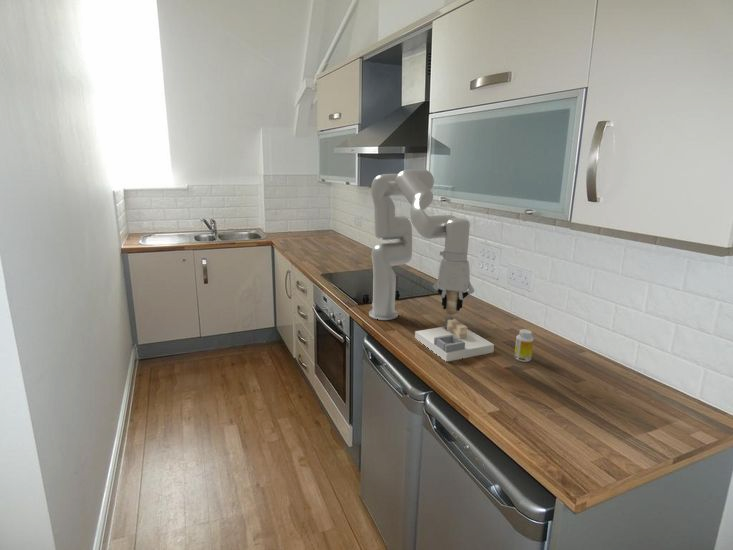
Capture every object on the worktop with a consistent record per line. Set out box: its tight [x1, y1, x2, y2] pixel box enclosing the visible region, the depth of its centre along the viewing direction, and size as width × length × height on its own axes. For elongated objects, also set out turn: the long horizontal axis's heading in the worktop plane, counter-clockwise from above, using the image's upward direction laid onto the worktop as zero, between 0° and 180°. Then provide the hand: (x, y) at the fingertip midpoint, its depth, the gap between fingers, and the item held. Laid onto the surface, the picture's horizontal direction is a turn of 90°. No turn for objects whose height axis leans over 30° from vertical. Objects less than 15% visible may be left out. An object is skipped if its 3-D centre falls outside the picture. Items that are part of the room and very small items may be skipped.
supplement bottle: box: [513, 328, 535, 363], centre depth 153 cm, size 6×6×10 cm
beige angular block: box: [444, 316, 469, 338], centre depth 167 cm, size 12×3×4 cm, turn 21°
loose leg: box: [445, 290, 459, 315], centre depth 151 cm, size 4×4×9 cm
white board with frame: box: [414, 326, 495, 362], centre depth 163 cm, size 21×20×6 cm
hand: (451, 308), depth 152 cm, fingers closed on loose leg, 4 cm apart
